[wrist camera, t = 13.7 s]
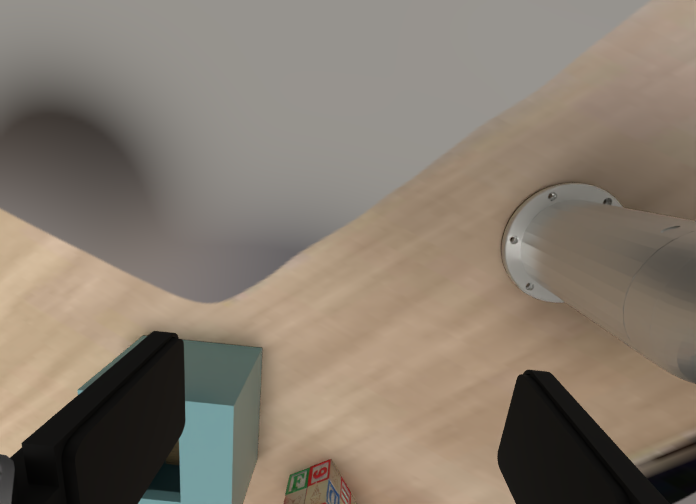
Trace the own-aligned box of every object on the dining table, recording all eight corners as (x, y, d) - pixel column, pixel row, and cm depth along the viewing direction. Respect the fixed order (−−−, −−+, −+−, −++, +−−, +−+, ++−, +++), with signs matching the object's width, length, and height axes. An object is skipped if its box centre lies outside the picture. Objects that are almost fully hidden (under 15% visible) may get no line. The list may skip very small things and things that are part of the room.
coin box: (262, 347, 41) (233, 406, 32) (257, 458, 45) (230, 540, 36) (142, 335, 41) (77, 389, 31) (148, 447, 45) (92, 526, 36)
